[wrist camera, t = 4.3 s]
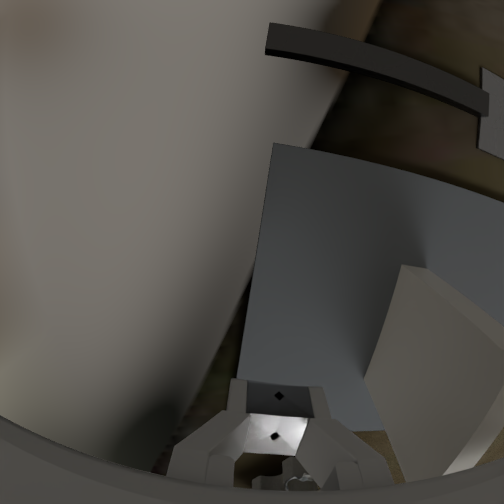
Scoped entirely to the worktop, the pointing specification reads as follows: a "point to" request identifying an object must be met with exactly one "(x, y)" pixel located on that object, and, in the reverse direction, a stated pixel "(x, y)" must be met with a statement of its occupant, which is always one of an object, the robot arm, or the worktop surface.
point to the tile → (437, 377)
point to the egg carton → (287, 479)
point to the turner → (399, 75)
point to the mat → (355, 268)
